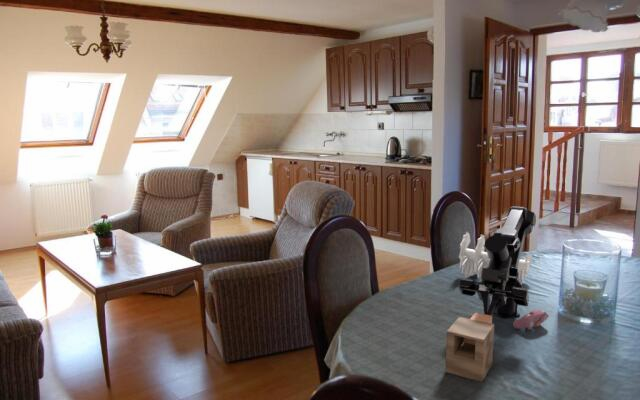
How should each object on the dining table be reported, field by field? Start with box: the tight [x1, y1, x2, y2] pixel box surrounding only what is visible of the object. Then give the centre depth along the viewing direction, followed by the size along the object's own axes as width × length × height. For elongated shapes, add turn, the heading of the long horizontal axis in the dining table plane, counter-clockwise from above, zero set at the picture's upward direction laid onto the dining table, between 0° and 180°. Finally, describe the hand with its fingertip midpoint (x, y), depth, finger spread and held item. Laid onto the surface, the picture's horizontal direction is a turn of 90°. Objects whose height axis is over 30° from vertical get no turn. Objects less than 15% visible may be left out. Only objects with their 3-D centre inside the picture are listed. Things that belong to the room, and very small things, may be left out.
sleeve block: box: [444, 316, 495, 383], centre depth 125 cm, size 10×9×11 cm
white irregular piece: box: [458, 231, 533, 284], centre depth 188 cm, size 18×18×25 cm
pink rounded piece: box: [512, 309, 550, 330], centre depth 148 cm, size 10×5×7 cm, turn 118°
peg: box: [464, 311, 493, 345], centre depth 130 cm, size 10×4×4 cm, turn 147°
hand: (486, 319), depth 137 cm, fingers closed
